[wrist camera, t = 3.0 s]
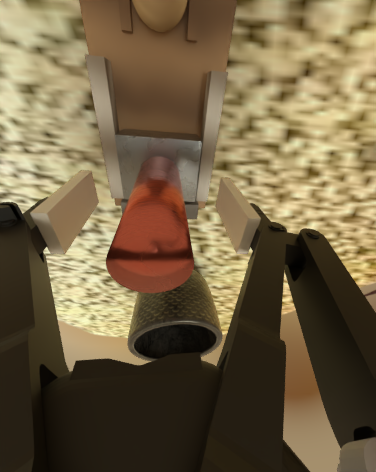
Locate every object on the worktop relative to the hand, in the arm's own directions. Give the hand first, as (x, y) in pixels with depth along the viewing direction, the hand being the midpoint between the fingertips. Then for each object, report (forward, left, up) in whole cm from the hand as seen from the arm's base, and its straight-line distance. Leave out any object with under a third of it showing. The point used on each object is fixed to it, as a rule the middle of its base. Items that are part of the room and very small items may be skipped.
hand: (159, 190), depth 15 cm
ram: (0, 0, -7) cm, 7 cm away
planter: (+16, +16, -10) cm, 24 cm away
